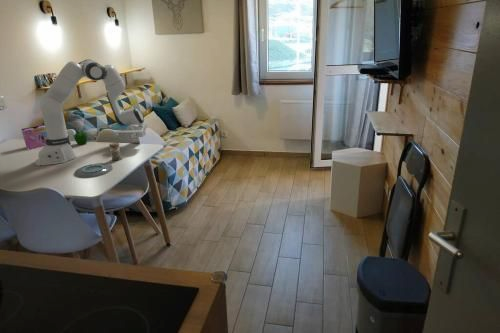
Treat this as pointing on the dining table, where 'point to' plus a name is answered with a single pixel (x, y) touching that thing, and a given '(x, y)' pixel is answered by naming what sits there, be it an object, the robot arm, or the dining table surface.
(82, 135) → the green shrub
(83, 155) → the dining table surface
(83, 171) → the grey plate
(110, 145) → the bead spool
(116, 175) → the dining table surface
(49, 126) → the robot arm
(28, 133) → the gum box
